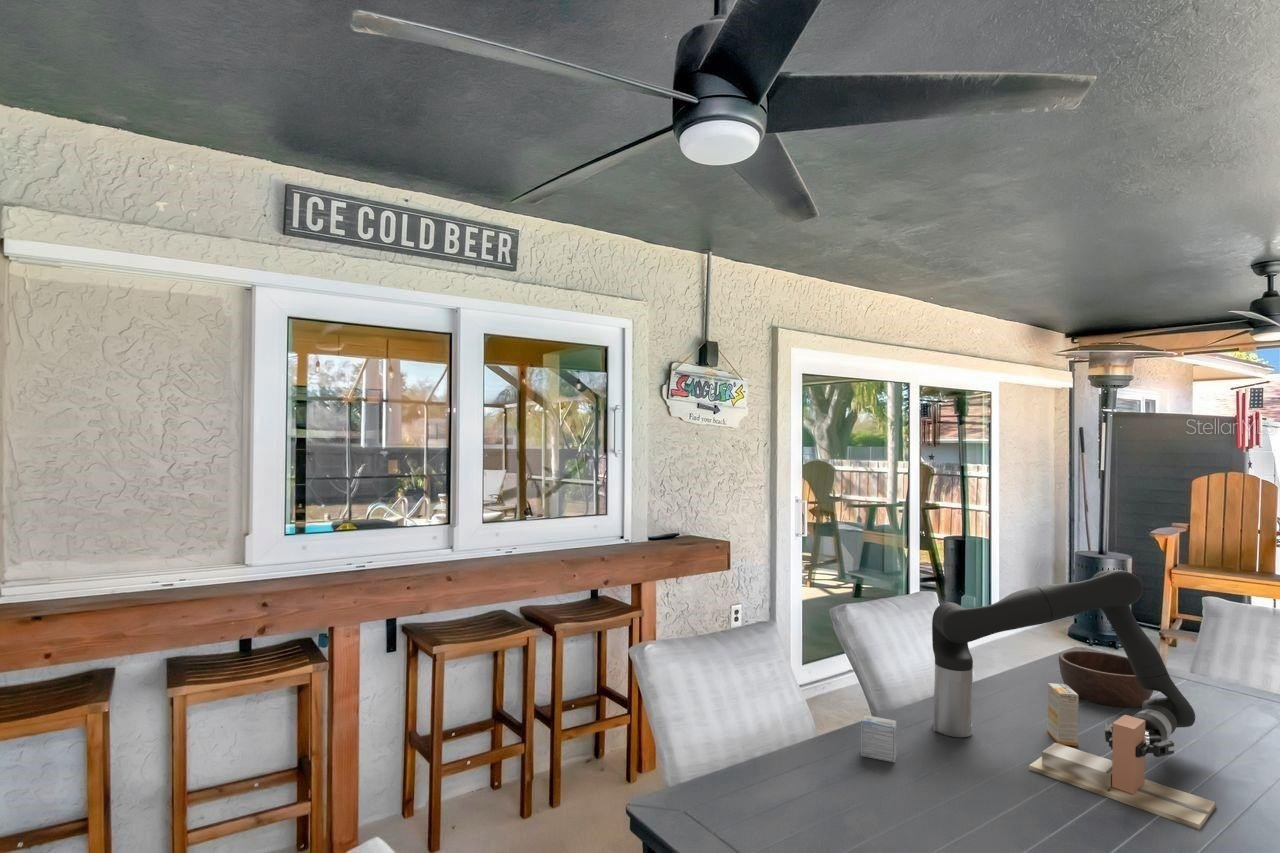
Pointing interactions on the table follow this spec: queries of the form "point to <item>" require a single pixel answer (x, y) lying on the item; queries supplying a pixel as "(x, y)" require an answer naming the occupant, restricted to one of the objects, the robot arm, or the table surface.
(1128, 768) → the salmon orange block
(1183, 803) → the wooden base board
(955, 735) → the robot arm
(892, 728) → the medicine box
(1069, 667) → the wooden bowl
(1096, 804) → the table surface
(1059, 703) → the supplement box
